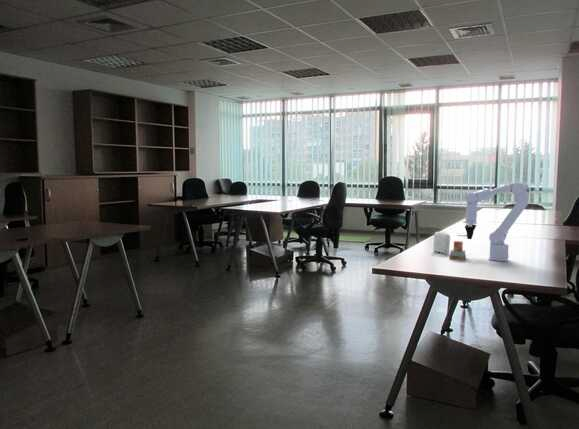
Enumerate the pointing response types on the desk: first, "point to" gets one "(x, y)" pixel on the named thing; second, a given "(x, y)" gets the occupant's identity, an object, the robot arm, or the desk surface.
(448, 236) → the photo printer
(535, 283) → the desk surface
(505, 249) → the robot arm
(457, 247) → the red block
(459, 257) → the walnut slab
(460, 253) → the grey slab
